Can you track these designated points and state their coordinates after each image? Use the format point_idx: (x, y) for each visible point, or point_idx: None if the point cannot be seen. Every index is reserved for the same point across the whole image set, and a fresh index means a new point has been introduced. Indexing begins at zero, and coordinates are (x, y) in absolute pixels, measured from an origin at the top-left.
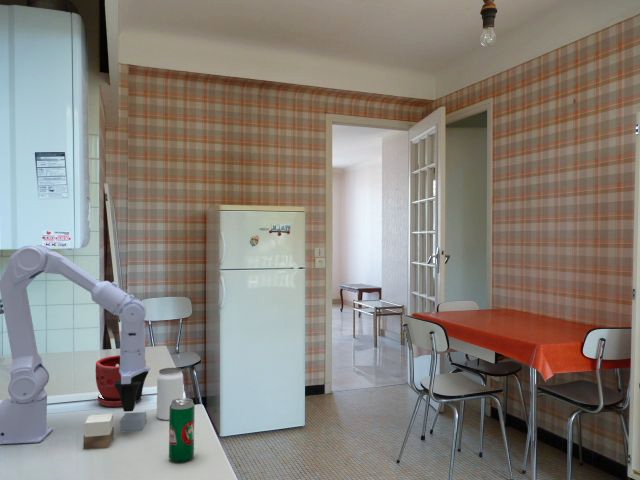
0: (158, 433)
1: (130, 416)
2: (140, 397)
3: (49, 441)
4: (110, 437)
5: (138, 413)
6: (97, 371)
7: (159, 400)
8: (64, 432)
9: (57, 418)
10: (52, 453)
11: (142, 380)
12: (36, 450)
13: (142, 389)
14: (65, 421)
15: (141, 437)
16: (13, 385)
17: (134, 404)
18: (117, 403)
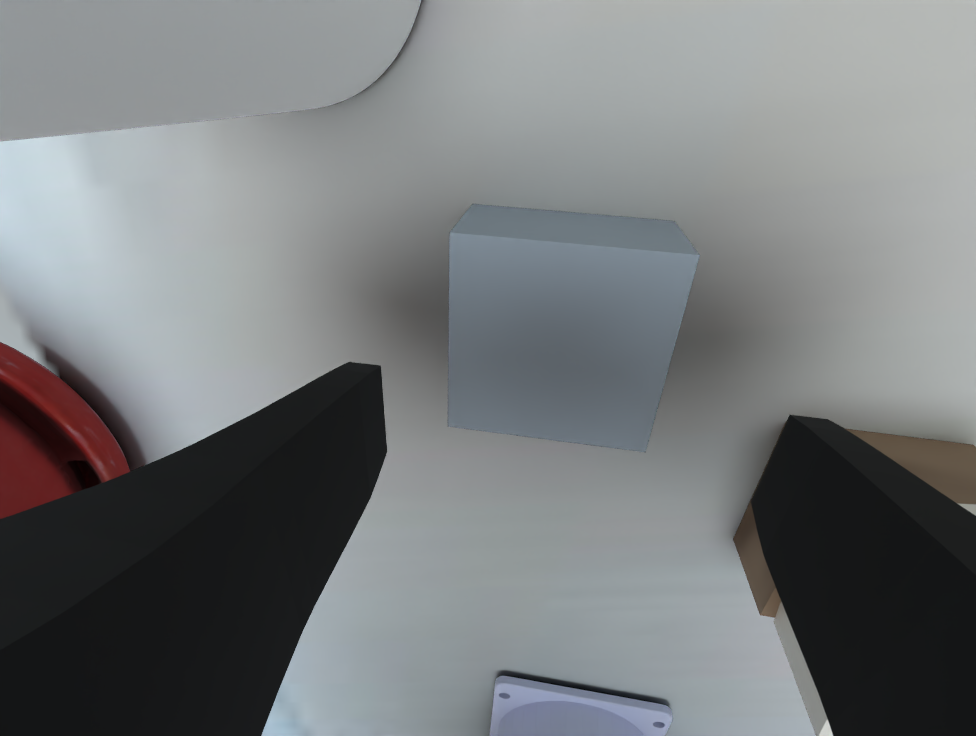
0: (842, 15)
1: (562, 378)
2: (363, 379)
3: (661, 676)
4: (917, 468)
5: (484, 311)
6: None
7: (288, 58)
8: (546, 636)
9: (335, 660)
10: None
11: (159, 591)
12: (769, 707)
13: (244, 421)
14: (380, 637)
15: (871, 205)
16: None
17: (895, 467)
18: (115, 463)
